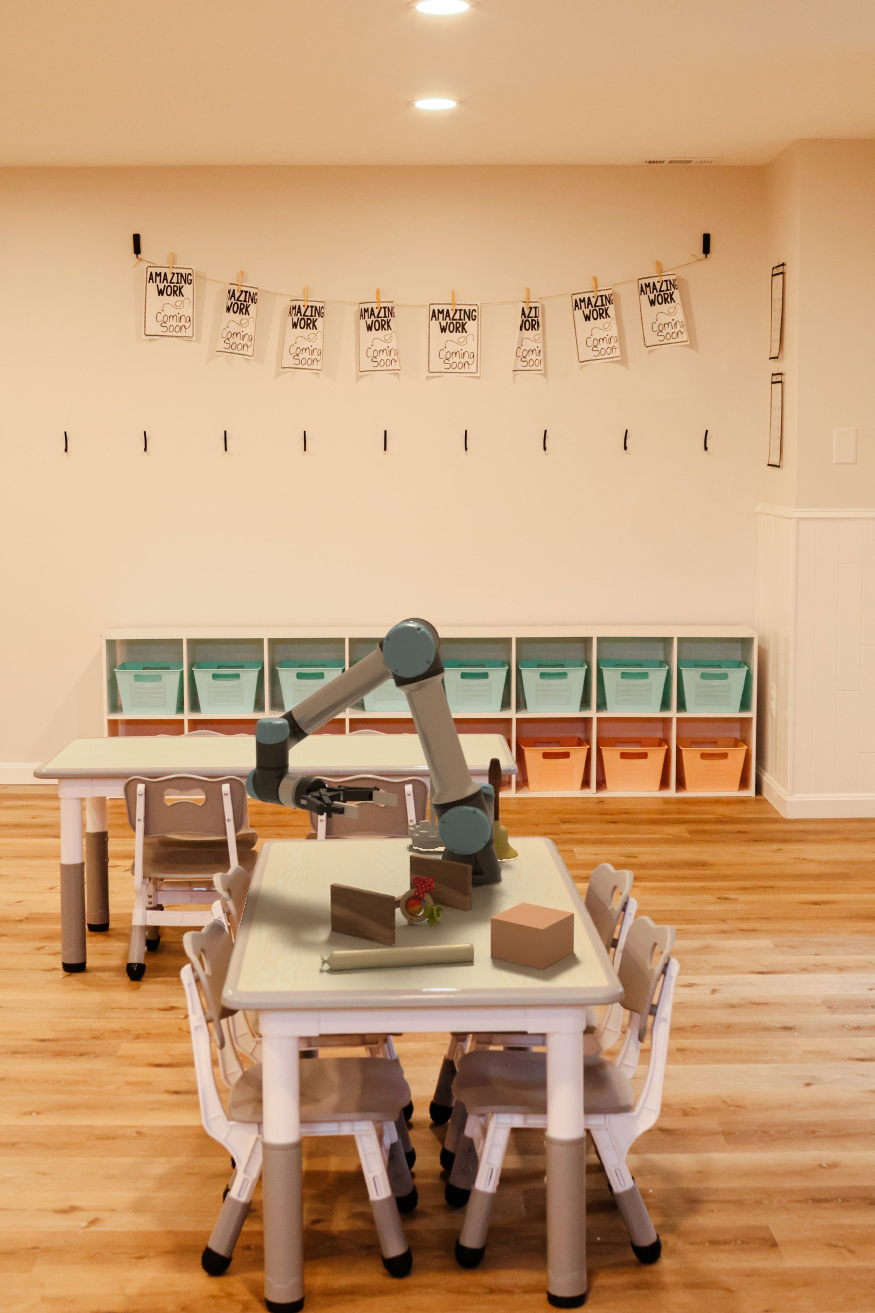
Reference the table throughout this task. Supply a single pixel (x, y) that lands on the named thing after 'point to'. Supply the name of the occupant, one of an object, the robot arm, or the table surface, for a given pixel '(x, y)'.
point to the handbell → (500, 831)
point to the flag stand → (426, 828)
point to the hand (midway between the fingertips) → (377, 806)
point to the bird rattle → (415, 906)
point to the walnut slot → (397, 899)
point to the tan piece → (399, 956)
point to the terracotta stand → (532, 935)
